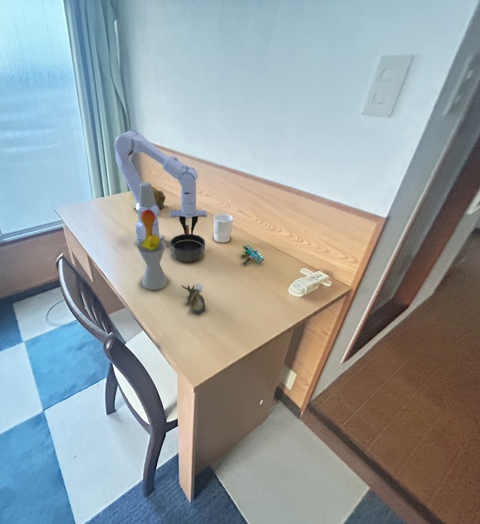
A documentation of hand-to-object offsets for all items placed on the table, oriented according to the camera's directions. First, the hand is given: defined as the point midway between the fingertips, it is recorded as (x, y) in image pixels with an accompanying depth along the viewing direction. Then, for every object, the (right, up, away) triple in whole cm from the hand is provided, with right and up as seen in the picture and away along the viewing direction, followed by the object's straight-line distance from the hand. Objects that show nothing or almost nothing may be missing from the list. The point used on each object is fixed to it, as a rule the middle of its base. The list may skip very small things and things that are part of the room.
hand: (188, 232), depth 115 cm
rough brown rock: (-19, +17, +36) cm, 44 cm away
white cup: (+15, -2, +6) cm, 16 cm away
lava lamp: (-13, -19, -17) cm, 29 cm away
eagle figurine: (0, -25, -27) cm, 37 cm away
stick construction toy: (+22, -11, -8) cm, 26 cm away
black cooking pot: (-1, -8, -3) cm, 8 cm away
